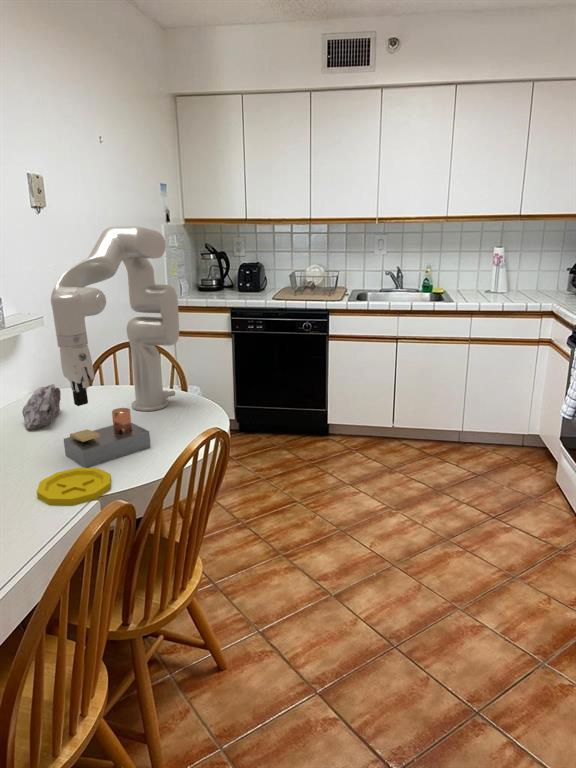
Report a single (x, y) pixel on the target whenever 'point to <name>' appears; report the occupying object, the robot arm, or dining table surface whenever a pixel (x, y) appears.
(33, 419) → the rock
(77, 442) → the plate
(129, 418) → the small bottle
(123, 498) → the dining table surface
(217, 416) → the dining table surface
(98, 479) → the decorative disc
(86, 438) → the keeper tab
